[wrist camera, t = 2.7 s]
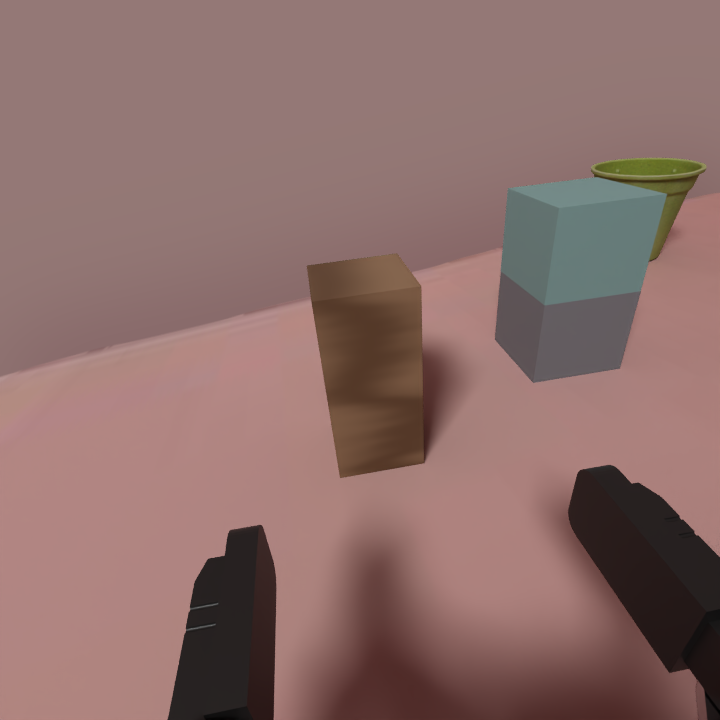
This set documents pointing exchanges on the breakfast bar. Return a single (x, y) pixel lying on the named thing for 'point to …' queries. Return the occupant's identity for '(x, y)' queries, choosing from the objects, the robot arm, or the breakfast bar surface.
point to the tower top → (579, 238)
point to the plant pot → (655, 184)
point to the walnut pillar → (371, 360)
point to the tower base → (563, 332)
